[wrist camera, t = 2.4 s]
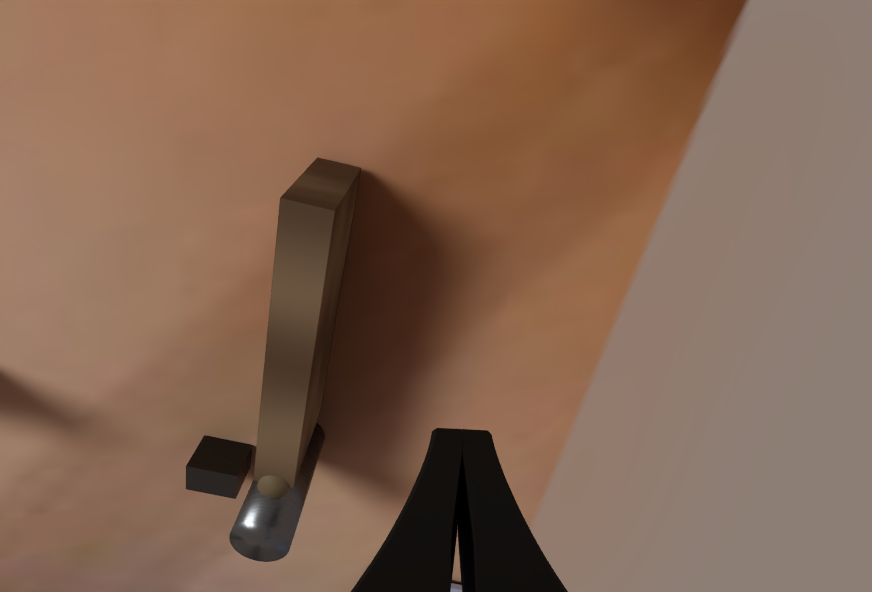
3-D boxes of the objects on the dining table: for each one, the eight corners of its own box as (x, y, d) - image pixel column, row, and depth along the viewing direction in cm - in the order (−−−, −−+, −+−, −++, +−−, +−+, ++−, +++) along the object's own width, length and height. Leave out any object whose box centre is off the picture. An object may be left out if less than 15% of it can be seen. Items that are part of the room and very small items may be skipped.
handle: (318, 423, 26) (290, 501, 22) (284, 416, 25) (251, 494, 21) (360, 167, 19) (334, 211, 15) (317, 157, 19) (279, 199, 15)
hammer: (327, 421, 26) (292, 528, 21) (316, 480, 28) (283, 591, 23) (-152, 321, 24) (-321, 410, 19) (-127, 392, 26) (-273, 489, 21)
